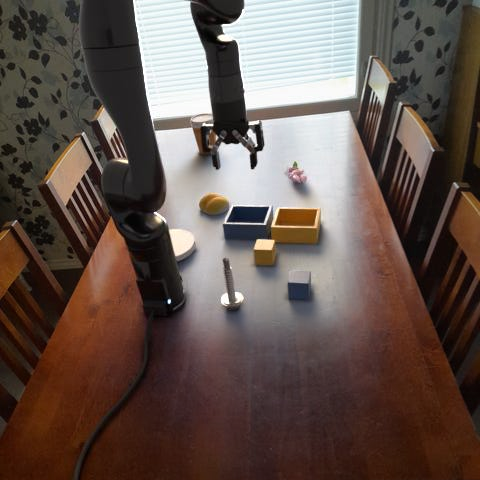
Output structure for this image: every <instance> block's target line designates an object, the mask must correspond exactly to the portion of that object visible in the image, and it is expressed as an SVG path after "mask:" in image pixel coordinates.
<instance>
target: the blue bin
mask: <svg viewBox="0 0 480 480" xmlns="http://www.w3.org/2000/svg"><path fill="white" fill-rule="evenodd" d="M228 209H229V210H228V212H227V213H226V216H225V218H224V219H223V222H222V230H223V235H224V236H223V237H224V240H225V239H227V240H229V239H230V240H256V241H257V239H265V240H269V236H270V234H271V225H272V222H273V219H274V206H273V205H271V204H270V205H269V204H268V205H267V204H266V205H265V204H262V205H261V204H231V205H230V206H229V208H228Z"/></svg>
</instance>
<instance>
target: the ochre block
mask: <svg viewBox="0 0 480 480" xmlns="http://www.w3.org/2000/svg"><path fill="white" fill-rule="evenodd" d="M276 256H277V250H276V242H275V240H272V239H267V240H265V239H257V240H256V241H255V244H254V246H253V259H254V265H255V266H274V263H275V260H276Z"/></svg>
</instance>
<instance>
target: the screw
mask: <svg viewBox="0 0 480 480" xmlns="http://www.w3.org/2000/svg"><path fill="white" fill-rule="evenodd" d="M222 264H223V267H222V269H223V278H224V284H225V290H226V293H225V294H223V295H222V296H221V299H220V303H221V304H222V305H223V307H226V308H227V309H228V310H230V311H232V310H237V309H238V308H239V307H240V305H242V303H243V302H244V296H243V295H242V293H240V292H238V291H236V288H235V281H234V273H233V270H232V269H233V268H232V266H231V263H230V258H228V257H223V258H222Z"/></svg>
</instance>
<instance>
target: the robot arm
mask: <svg viewBox="0 0 480 480" xmlns="http://www.w3.org/2000/svg"><path fill="white" fill-rule="evenodd" d="M183 1H185V2H189V9H190V13H191V18H192V21H193V24H194V27H195V30H196V32H197V35H198V38H199V41H200V43H201V45H202V48H203V51H204V54H205V55H204V56H205V63H206V70H207V78H208V79H207V80H208V81H207V82H208V93H209V94H208V95H209V100H210V108H211V114H212V115H213V124H207V123H206V122H205V123H203V125H202V126H201V127H200V131H201V141H202V150H203V152H208V153H210V154H209V155H210V156H211V163H212V167H213V168H215V170H216V171H219V170H220V169H221V166H222V165H221V159H220V152H219V151H218V150H219V148H220V146H221V145H222V144H224V145H225V146H226V145H231V144H233V145H239V144H241V145H242V147H244V148H245V149H246V150H247V151H248V152H249V164H250V170H255V169H256V167H257V166H258V162H259V161H258V152H262V151H263V150H264V148H265V135H264V128H263V121H261V120H257V121H256V122H249V120H248V114H247V103H246V102H247V101H246V87H245V81H244V77H243V71H242V60H241V51H240V44H239V42H238V40H237V39H235V38H233V37H231V36H229V35H227V34H226V33H225V31H224V28H223V26H231V25H234V24H236V23H237V22H238V21H240V19H241V18H242V17H243V14H244V12H245V0H183ZM135 3H136V2H135V0H81V1H80V7H79V15H78V16H79V17H78V37H79V44H80V48H81V52H82V57H83V62H84V66H85V72H86V75H87V78H88V81H89V84H90V86H91V88H92V90H93V93H94V94H95V96H96V98H97V99H98V101H99V102H100V104H101V105H102V107H103V108H104V110H105V112H106V113H107V114H108V116H109V118H110V119H111V121H112V123H113V124H114V126H115V128H116V129H117V132H118V134H119V135H120V137H121V140H122V143H123V146H124V150H125V155H126V157H121V156H120V157H113V158H112V159H110V160H108V161H107V162H106V163H105V165H104V167H103V169H102V171H101V178H100V181H101V182H100V184H101V189H102V190H101V191H102V195H103V198H104V199H103V200H104V201H105V204H106V206H107V210H108V212H109V214H110V217H111V219H112V222H113V224H114V227H115V229H116V231H117V233H118V234H119V235H120V236H121V237H122V238H123V240H124V243H125V246H126V249H127V253H128V256H129V259H130V263H131V265H132V268H133V271H134V275H135V277H136V279H135V283H136V286H137V289H138V292H139V295H140V299H141V302H142V304H141V307H142V310H143V313H144V315H148V320H147V323H146V327H145V333H144V343H143V361H142V365H141V368H140V370H139V372H138V374H137V376H136V377H135V379H134V381H133V382H132V383H131V385H130V386H129V387H128V388H127V390H126V391H125V393H124V394H123V395H122V397H121V398H120V399H119V400H118V401H117V402H116V403H115V404H114V405H113V406H112V408H110V409H109V411H107V412H106V413H105V415H104V416H103V417H102V418H101V420H100V421H99V422H98V424H97V425H96V427H95V428H94V429H93V431H92V432H91V434H90V435H89V437H88V438H87V440H86V442H85V444H84V445H83V448H82V450H81V452H80V454H79V456H78V460H77V462H76V465H75V468H74V472H73V476H72V480H79V478H80V477H79V476H80V471H81V468H82V466H83V462H84V460H85V457H86V454H87V452H88V450H89V448H90V446H91V444H92V442H93V441H94V439H95V438H96V436H97V435H98V434H99V432H100V430H101V429H102V428H103V427H104V425H105V423H106V422H107V421H108V420H109V419H110V417H112V415H114V413H115V412H116V411H117V410H118V409H119V408H120V407H121V406H122V405H123V403H124V402H125V401H126V400H127V398H128V397H129V396H130V395H131V393H132V392H133V391H134V389H135V388H136V386H137V385H138V384H139V382H140V380H141V379H142V377H143V375H144V373H145V371H146V368H147V365H148V362H149V339H150V338H149V337H150V331H151V326H152V323H153V319H154V317H155V316H163V317H164V316H172V315H173V314H174V313H175V312H176V311H178V310H179V309H181V308H183V306H184V305H185V303H186V300H187V296H186V292H185V290H184V285H183V283H184V282H183V277H182V276H181V274H180V269H179V266H178V261H176V257H175V253H174V248H173V244H172V240H171V236H170V232H169V230H170V229H169V225H168V222H167V220H166V218H165V217H163V216H162V215H161V214H159V213H157V212H159V211H160V210H161V209H162V207H163V206H164V204H165V202H166V198H167V192H168V191H167V189H168V185H167V176H166V171H165V166H164V163H163V158H162V154H161V151H160V146H159V142H158V138H157V134H156V129H155V125H154V120H153V114H152V108H151V103H150V97H149V91H148V85H147V76H146V68H145V60H144V54H143V53H144V52H143V47H142V43H141V42H142V41H141V36H140V31H139V25H138V19H137V12H136V4H135ZM211 130H213V132H214V133H215V134H216V137H217V138H216V142H215V144H214V146H211V145H210V140H209V134H210V133H211ZM249 130H251V131H252V133H253V134H255V141H256V143H255V142H254V141H253V140H252V137H251V136H250V135H249V134H248V132H249Z"/></svg>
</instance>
